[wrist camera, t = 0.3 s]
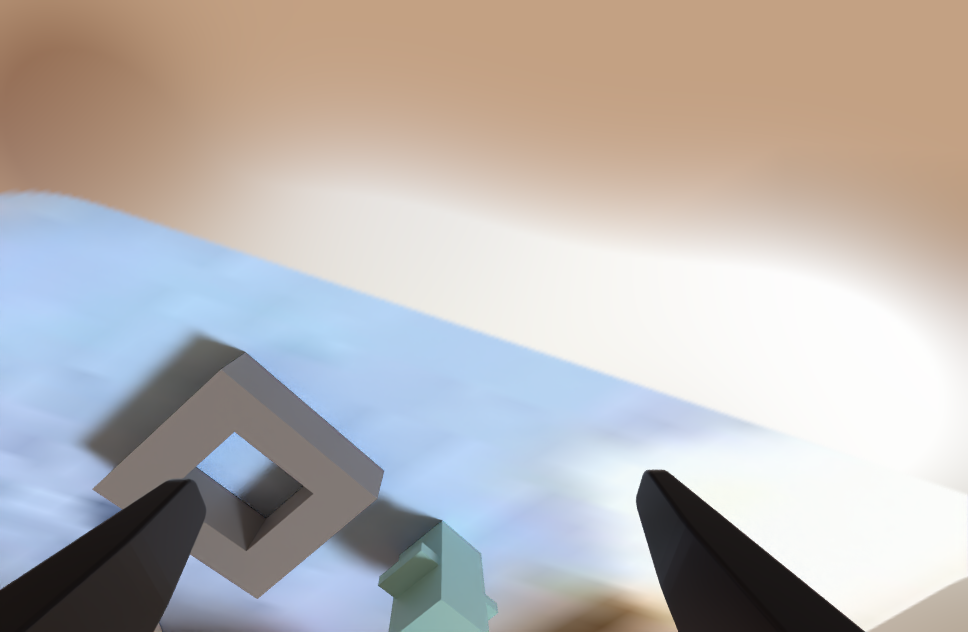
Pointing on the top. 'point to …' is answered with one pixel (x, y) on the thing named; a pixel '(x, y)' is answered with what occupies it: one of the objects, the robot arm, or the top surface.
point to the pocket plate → (280, 437)
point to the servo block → (438, 586)
